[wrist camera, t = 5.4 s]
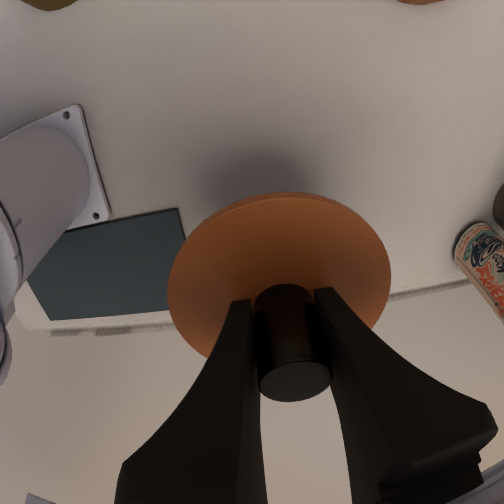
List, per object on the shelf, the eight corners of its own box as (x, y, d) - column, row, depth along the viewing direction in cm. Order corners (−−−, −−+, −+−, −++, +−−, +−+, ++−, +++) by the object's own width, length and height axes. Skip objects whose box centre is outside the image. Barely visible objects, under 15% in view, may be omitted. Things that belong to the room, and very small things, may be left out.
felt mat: (51, 317, 24) (50, 320, 24) (12, 244, 20) (9, 247, 19) (204, 302, 24) (203, 306, 23) (177, 207, 19) (176, 210, 19)
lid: (202, 365, 14) (195, 446, 11) (143, 207, 10) (95, 289, 6) (370, 340, 14) (399, 416, 10) (386, 172, 10) (462, 234, 6)
